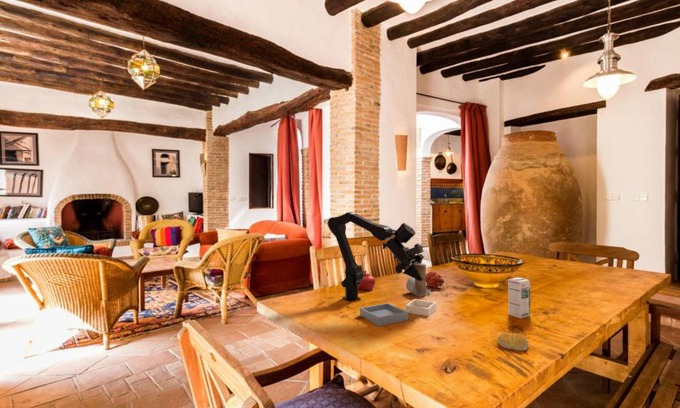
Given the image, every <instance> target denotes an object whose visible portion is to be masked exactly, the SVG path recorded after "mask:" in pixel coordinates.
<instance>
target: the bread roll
mask: <svg viewBox="0 0 680 408" xmlns="http://www.w3.org/2000/svg"><path fill="white" fill-rule="evenodd" d="M497 344H498V345H499V346H501V347H502V348H504V349H506V348H507V350H514V351H517V352H521V351H527V350H528V349H529V339H527V338H526V336H525V335H523V334H520V333H514V334H513V333H511V332H507V331H505V332H502V333H500V334H499V335H498V337H497Z"/></svg>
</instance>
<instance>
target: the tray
mask: <svg viewBox="0 0 680 408" xmlns="http://www.w3.org/2000/svg"><path fill="white" fill-rule="evenodd" d="M359 316H361V317H362V318H364V319H366V320H368V321H369V322H371V323H372V324H374V325H375V326H377V327H380V326H381V327H383V326H385V325H387V326H388V325H391V324H394V323H400V322H405V321H409V313H408V312H407V311H406V310H404V309H403V308H400V307H398V306H396V305H394V304H391V303H390V302H386V303H380V304H379V303H378V304H375V305H369V306H363V307H360V308H359Z"/></svg>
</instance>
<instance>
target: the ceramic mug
mask: <svg viewBox="0 0 680 408" xmlns="http://www.w3.org/2000/svg"><path fill="white" fill-rule="evenodd" d="M405 288H406V290H407V291H408V292H410V293H412V294H413V295H415V278H413V277H411V276H410V277H409V278H408V279H407V280H406V283H405ZM430 293H431V290H430V289H428V288H426V295H429V294H430Z"/></svg>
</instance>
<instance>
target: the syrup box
mask: <svg viewBox="0 0 680 408" xmlns="http://www.w3.org/2000/svg"><path fill="white" fill-rule="evenodd" d="M507 284H508V285H507V293H508V294H507V297H508V301H507V302H508V303H507V304H508V306H507V307H508V308H507V309H508V315H509V316H512V317H514V318H518V319H523V318H528V317H531V280H530V279H528V278H523V277H513V278H508V279H507Z"/></svg>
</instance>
